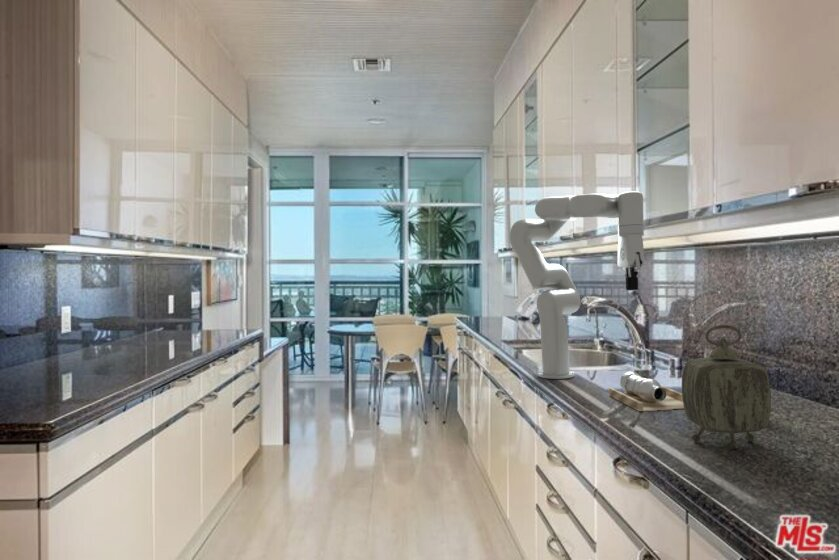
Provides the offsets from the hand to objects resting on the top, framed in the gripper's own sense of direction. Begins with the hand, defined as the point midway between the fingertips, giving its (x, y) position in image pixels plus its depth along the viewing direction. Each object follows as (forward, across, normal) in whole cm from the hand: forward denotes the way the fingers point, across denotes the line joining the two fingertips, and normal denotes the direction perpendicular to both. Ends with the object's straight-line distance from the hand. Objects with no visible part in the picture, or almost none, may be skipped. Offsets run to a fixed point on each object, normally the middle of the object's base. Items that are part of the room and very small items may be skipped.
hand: (632, 289), depth 167 cm
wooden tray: (+31, +18, -2) cm, 36 cm away
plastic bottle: (+28, +5, -4) cm, 29 cm away
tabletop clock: (+30, +58, -4) cm, 65 cm away
